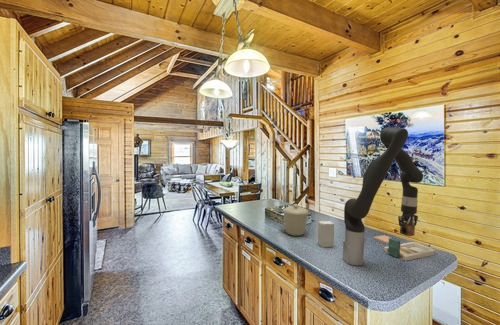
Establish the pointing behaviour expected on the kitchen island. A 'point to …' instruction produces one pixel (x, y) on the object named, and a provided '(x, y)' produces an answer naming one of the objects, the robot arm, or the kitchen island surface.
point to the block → (408, 230)
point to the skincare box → (326, 233)
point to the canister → (295, 220)
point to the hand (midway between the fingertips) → (407, 233)
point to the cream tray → (421, 250)
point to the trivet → (382, 239)
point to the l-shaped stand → (398, 248)
